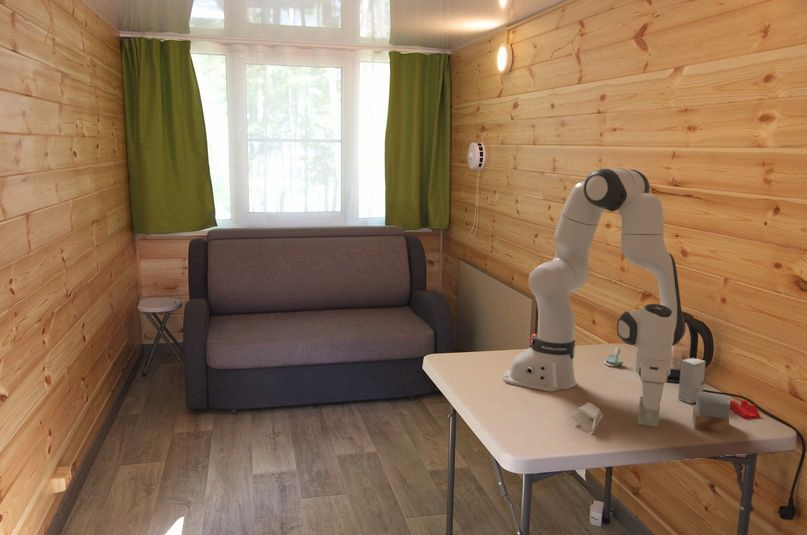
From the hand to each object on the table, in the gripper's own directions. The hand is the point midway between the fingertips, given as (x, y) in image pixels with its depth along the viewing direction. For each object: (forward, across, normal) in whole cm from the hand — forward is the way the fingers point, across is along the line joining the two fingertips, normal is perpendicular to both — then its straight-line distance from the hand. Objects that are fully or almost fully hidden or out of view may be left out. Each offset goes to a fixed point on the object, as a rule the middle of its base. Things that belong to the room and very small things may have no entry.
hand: (648, 414), depth 184 cm
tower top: (-2, -4, +16) cm, 16 cm away
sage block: (+2, 0, 0) cm, 2 cm away
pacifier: (+2, -48, -11) cm, 49 cm away
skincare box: (+2, -22, +12) cm, 25 cm away
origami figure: (+2, +10, -15) cm, 18 cm away
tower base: (+2, -4, +16) cm, 16 cm away
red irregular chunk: (+3, -16, +26) cm, 31 cm away
